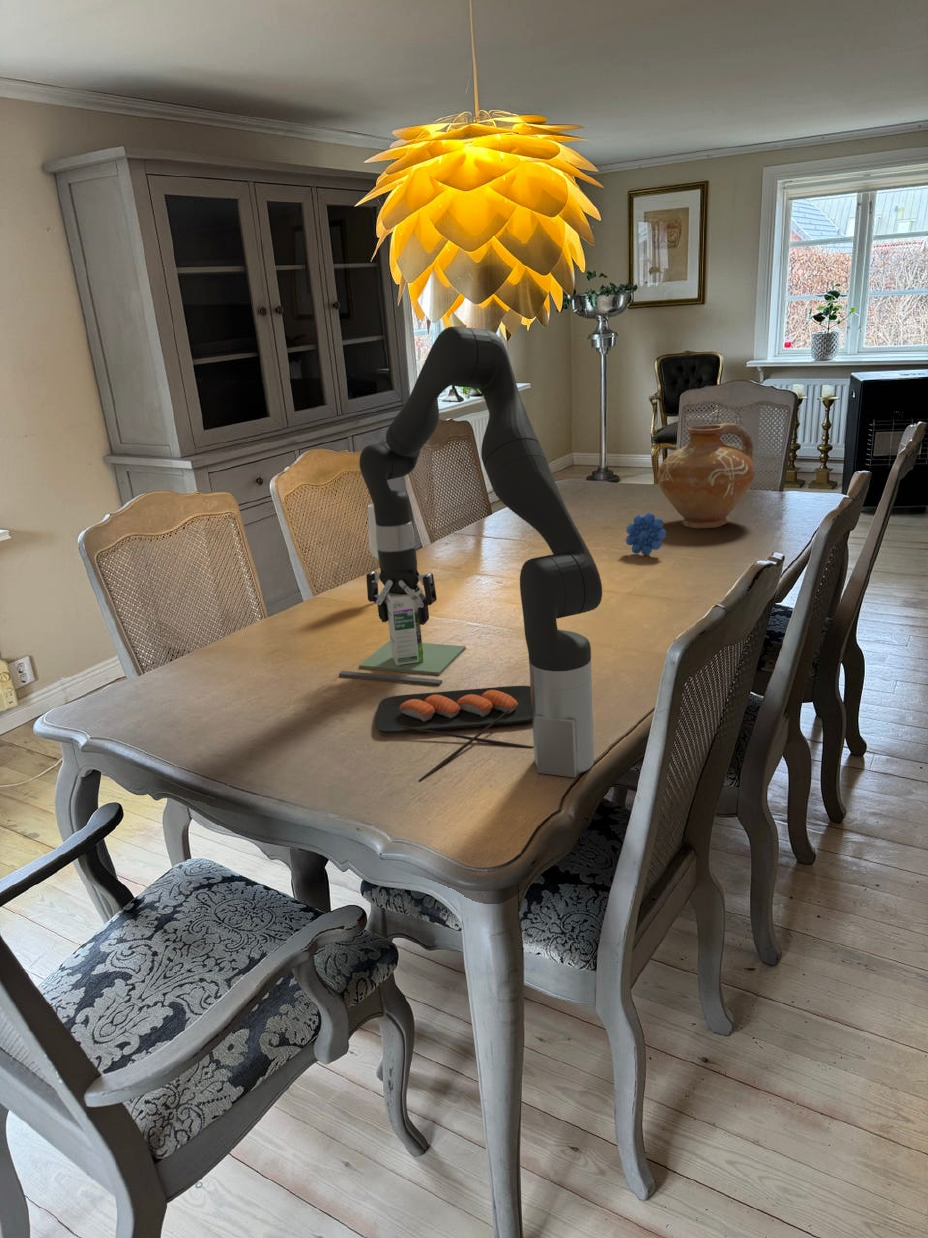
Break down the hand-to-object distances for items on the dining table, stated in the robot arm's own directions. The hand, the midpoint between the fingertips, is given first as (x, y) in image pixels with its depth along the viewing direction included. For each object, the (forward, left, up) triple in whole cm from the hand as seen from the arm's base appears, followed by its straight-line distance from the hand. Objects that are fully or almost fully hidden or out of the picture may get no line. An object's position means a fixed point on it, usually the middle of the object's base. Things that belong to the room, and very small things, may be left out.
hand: (404, 622), depth 174 cm
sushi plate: (-27, -22, -10) cm, 36 cm away
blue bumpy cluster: (+84, -33, -9) cm, 91 cm away
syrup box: (0, 0, -8) cm, 8 cm away
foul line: (-9, 0, -9) cm, 13 cm away
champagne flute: (+38, +24, -9) cm, 46 cm away
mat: (+2, 0, -9) cm, 9 cm away
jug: (+119, -44, -9) cm, 127 cm away
